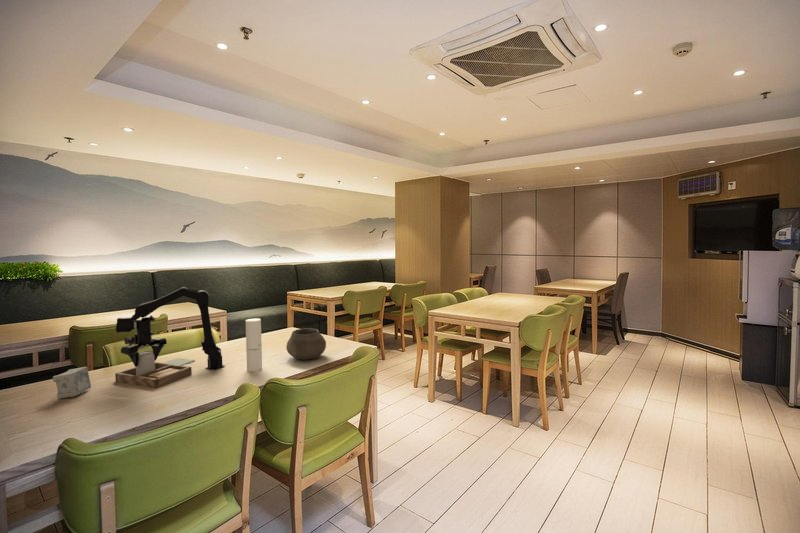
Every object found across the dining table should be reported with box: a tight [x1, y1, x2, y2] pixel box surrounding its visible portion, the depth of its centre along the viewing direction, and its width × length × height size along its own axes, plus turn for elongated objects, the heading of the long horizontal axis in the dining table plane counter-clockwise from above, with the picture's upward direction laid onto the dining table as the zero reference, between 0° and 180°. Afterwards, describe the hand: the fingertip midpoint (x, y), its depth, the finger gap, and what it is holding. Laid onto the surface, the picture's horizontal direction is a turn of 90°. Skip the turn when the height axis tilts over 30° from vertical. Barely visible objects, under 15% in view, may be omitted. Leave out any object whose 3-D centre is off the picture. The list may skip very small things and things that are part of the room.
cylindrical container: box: [245, 317, 263, 372], centre depth 192 cm, size 7×7×25 cm
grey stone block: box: [52, 366, 92, 400], centre depth 161 cm, size 10×8×10 cm
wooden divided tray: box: [114, 361, 192, 389], centre depth 180 cm, size 25×18×4 cm
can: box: [136, 350, 156, 376], centre depth 181 cm, size 8×8×12 cm
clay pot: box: [285, 327, 327, 361], centre depth 211 cm, size 22×21×15 cm
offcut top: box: [149, 368, 179, 379], centre depth 178 cm, size 7×10×2 cm, turn 159°
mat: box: [163, 357, 195, 366], centre depth 202 cm, size 12×12×1 cm
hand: (145, 363), depth 181 cm, fingers open, 9 cm apart
